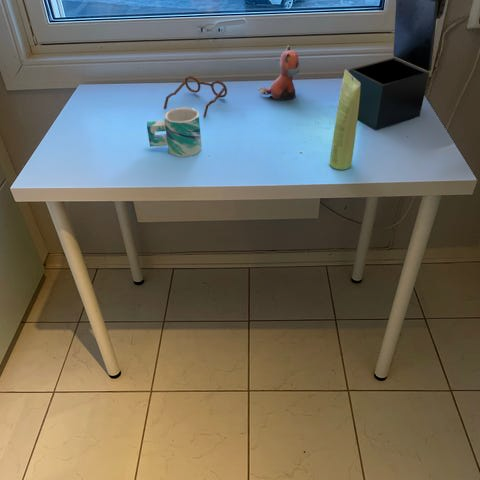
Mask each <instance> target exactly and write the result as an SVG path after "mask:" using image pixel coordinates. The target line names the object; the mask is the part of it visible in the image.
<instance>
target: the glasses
mask: <svg viewBox="0 0 480 480" xmlns="http://www.w3.org/2000/svg"><path fill="white" fill-rule="evenodd" d="M189 79H192V80H194V81H195V83H197V89H193V88H191V87H190V86H189V83H188V80H189ZM215 84H218V85H220V86H222V88H221V90H220V91H219V92H218V93H217V92H216V90H215V87H214V86H215ZM201 85H205V86H209V87H211V91H212V93H213V95H214V96H215V97H214V98H213V99H212V100H211V101H209V102H208V103H207V104H206V105H205V108H204V112H203V116H202V117H203V118H206V116H207V114H208V110H209V107H210V106H211V105H212V104H214V103H216V102H217V100H218V99H219V98H225V97H226V96H227V95H228V88H227V86H226V84H225V83H224V82H223V81H221V80H213V81H212V82H211V83H210V82H208V81H202V80H201V81H200V80H199V79H198V78H197V77H195V76H193V75H188V76H186V78H185V79H184V80H183V82H182V83H181V84H180V85H179V86H178V87H177V89H175V90H174V91H173V92H171V93H169V94H168V95H167V96H166V97H165V100H164V105H163V109H164V110H166V109H167V108H168V107H167V106H168V102H169V99H170V98H171V97H172V96H175V95H177V94H178V93H179V92H180V90H181V89H183V87H186V88H187V90H189V92H192V93H198V92H200V90H201Z"/></svg>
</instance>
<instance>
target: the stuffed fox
mask: <svg viewBox="0 0 480 480" xmlns="http://www.w3.org/2000/svg"><path fill="white" fill-rule="evenodd" d="M279 68H280V74H279V76H278V77H277V78H276V79H275V80H274V81H273V82H272V84H271V85H270V87H269V88H266V87H258V88H257V90H258V91H259V93H260V94H261V95H265V96H271V97H272V99H275V100H279V101H282V100H283V101H287V100H294V99H296V98H297V95H296V88H295V85H294V82H293V80H294V76H296V75H297V74H299V72H300V71H301V65H300V60H299V55H298V54H297V52H296V51H294V50H291V46H290V45H289V44H288V45H287V46H286V48H285V51H284V52H282V53H281V55H280V57H279Z"/></svg>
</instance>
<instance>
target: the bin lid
mask: <svg viewBox="0 0 480 480" xmlns="http://www.w3.org/2000/svg"><path fill="white" fill-rule="evenodd" d="M437 9H438V1H437V0H395V12H394V13H395V14H394V15H395V16H394V32H393V33H394V34H393V35H394V36H393V58H396V59H398V60H401V61H403V62H405V63H408V64H410V65H412V66H415V67H417V68H419V69H422V70H424V71H426V72H431V71H432V66H433V56H434V48H435V47H434V46H435V37H436V27H437V20H438V19H437Z"/></svg>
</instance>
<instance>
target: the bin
mask: <svg viewBox="0 0 480 480" xmlns="http://www.w3.org/2000/svg"><path fill="white" fill-rule="evenodd" d="M348 72H349V73H350V74H351V75H352V76H353V77H354V78H355V79H356V80H358V81H359V82H360V83H361V85H360V99H359V109H358V118H357V122H358V121H359V122H360V123H362V124H364V125H366V126H368V127H369V128H371V129H372V130H374V131H377V130H381V129H385V128H387V127H391V126H394V125H397V124H401V123H404V122H406V121H410V120H413V119H415V118H419V117H420V116H421V112H422V107H423V103H424V100H425V99H424V98H425V94H426V89H427V85H428V82H429V76H430V71H427V70H425V69H422V68H420V67H418V66H415V65H413V64H411V63H408V62H406V61H404V60H401V59H399V58H397V57H391V58H386V59H384V60H379V61H376V62H371V63H368V64H364V65H361V66H356V67H352V68H349V69H348Z"/></svg>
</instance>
